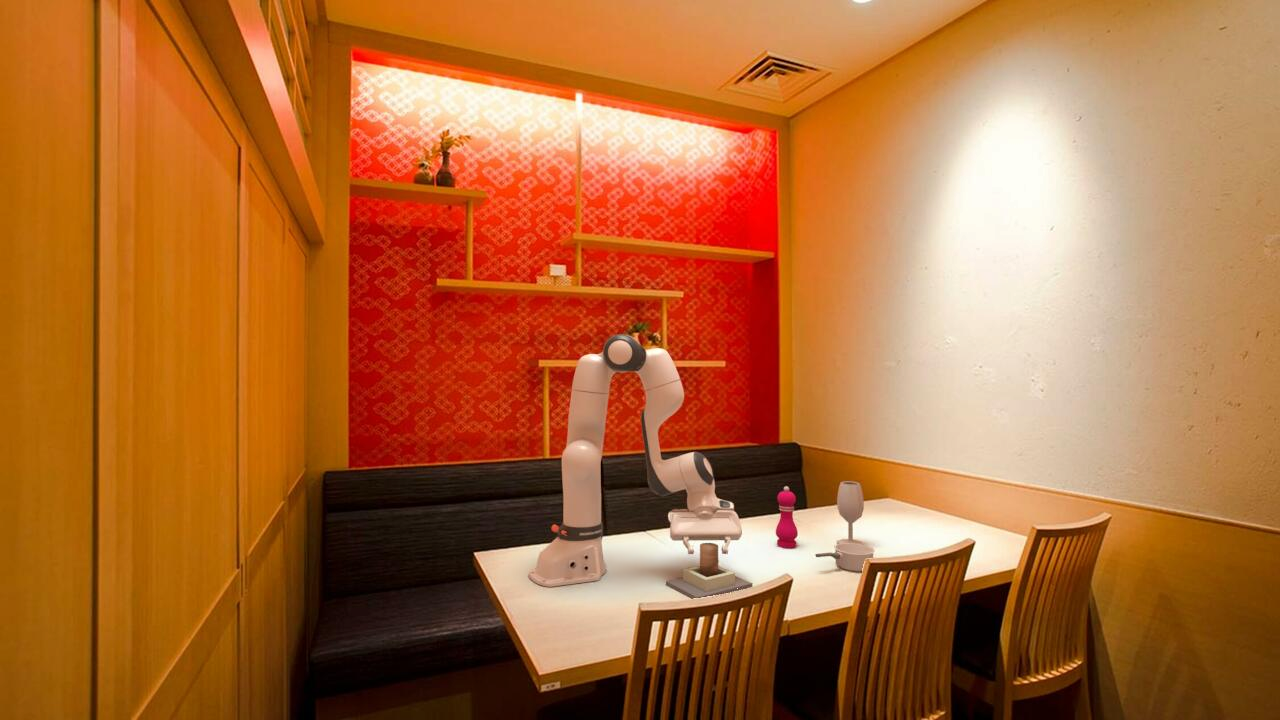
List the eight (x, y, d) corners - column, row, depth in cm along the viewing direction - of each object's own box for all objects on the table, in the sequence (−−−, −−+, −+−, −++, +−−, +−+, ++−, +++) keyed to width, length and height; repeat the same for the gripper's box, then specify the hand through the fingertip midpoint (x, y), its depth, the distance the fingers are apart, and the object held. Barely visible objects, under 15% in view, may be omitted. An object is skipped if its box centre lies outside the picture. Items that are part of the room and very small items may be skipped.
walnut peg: (707, 586, 159) (707, 549, 159) (696, 581, 163) (696, 544, 163) (722, 583, 161) (722, 546, 162) (710, 577, 165) (710, 541, 166)
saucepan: (803, 567, 178) (803, 549, 178) (854, 559, 186) (854, 541, 186) (830, 580, 167) (830, 560, 167) (883, 570, 175) (883, 551, 175)
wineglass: (831, 542, 203) (831, 481, 204) (853, 540, 206) (852, 480, 206) (847, 550, 195) (847, 486, 195) (870, 547, 198) (869, 484, 198)
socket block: (697, 601, 151) (697, 585, 151) (665, 584, 163) (665, 570, 163) (752, 586, 161) (752, 572, 161) (718, 572, 173) (718, 558, 173)
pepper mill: (798, 549, 195) (798, 488, 196) (775, 548, 197) (775, 488, 197) (797, 543, 202) (796, 484, 203) (775, 542, 204) (775, 484, 204)
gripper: (668, 503, 170) (671, 547, 160) (738, 503, 171) (746, 547, 161) (666, 515, 174) (669, 559, 164) (735, 514, 175) (742, 558, 165)
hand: (708, 553), depth 162 cm, fingers open, 8 cm apart
